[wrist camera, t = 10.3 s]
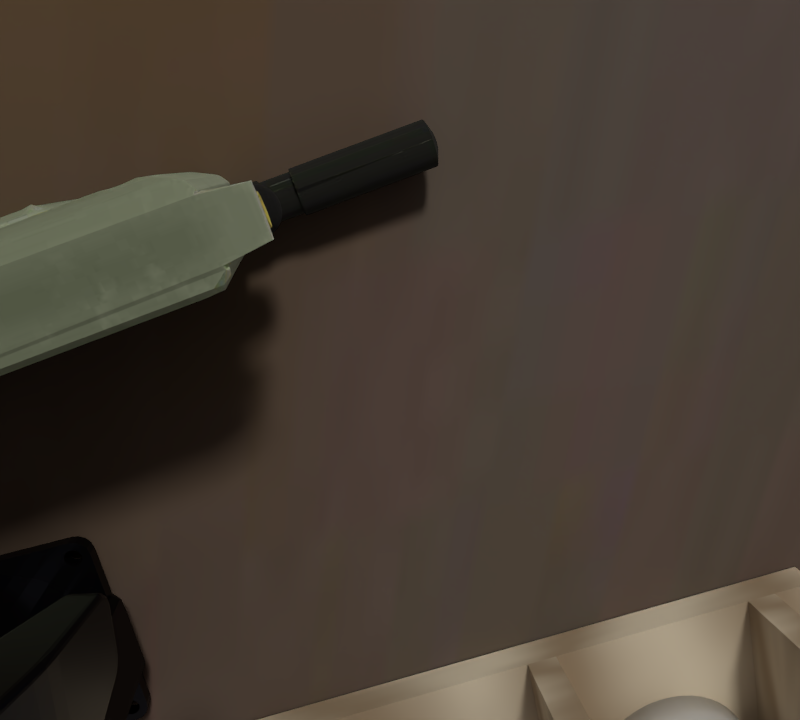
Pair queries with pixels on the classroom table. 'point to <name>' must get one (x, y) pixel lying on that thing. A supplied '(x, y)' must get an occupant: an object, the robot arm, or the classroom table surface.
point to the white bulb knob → (684, 710)
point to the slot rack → (615, 666)
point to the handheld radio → (165, 242)
